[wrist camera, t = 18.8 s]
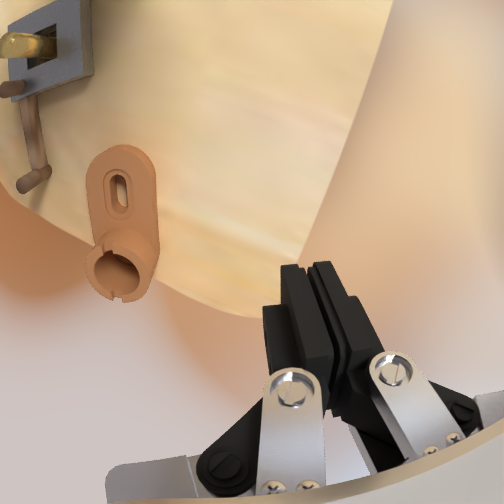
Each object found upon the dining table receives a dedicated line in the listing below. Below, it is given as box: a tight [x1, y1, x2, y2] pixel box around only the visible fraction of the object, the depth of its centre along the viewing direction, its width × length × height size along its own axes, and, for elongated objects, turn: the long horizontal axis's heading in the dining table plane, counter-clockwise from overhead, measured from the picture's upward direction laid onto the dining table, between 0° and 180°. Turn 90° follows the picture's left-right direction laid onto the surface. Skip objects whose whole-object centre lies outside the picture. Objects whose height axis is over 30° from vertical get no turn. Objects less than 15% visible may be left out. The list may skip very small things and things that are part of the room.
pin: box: [0, 32, 58, 59], centre depth 20 cm, size 3×3×10 cm
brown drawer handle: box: [0, 80, 52, 194], centre depth 27 cm, size 14×2×6 cm, turn 3°
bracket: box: [85, 145, 160, 302], centre depth 34 cm, size 18×8×7 cm, turn 176°
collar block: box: [8, 0, 94, 102], centre depth 23 cm, size 11×11×3 cm
